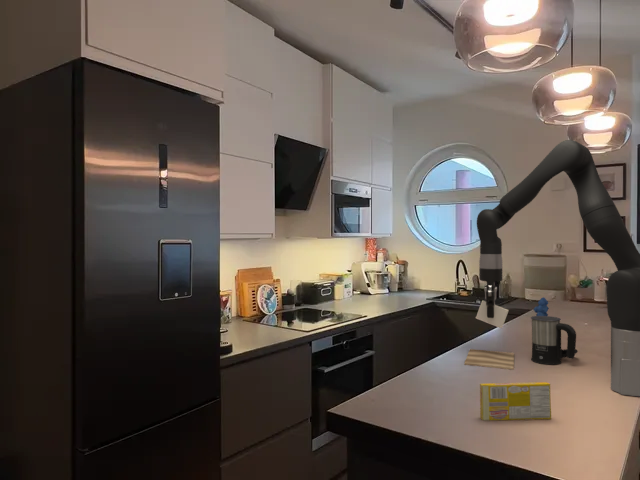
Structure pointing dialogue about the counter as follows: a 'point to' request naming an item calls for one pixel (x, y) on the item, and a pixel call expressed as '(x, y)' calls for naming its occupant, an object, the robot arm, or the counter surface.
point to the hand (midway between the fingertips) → (490, 316)
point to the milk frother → (551, 340)
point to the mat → (490, 359)
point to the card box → (498, 315)
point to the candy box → (515, 401)
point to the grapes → (541, 307)
